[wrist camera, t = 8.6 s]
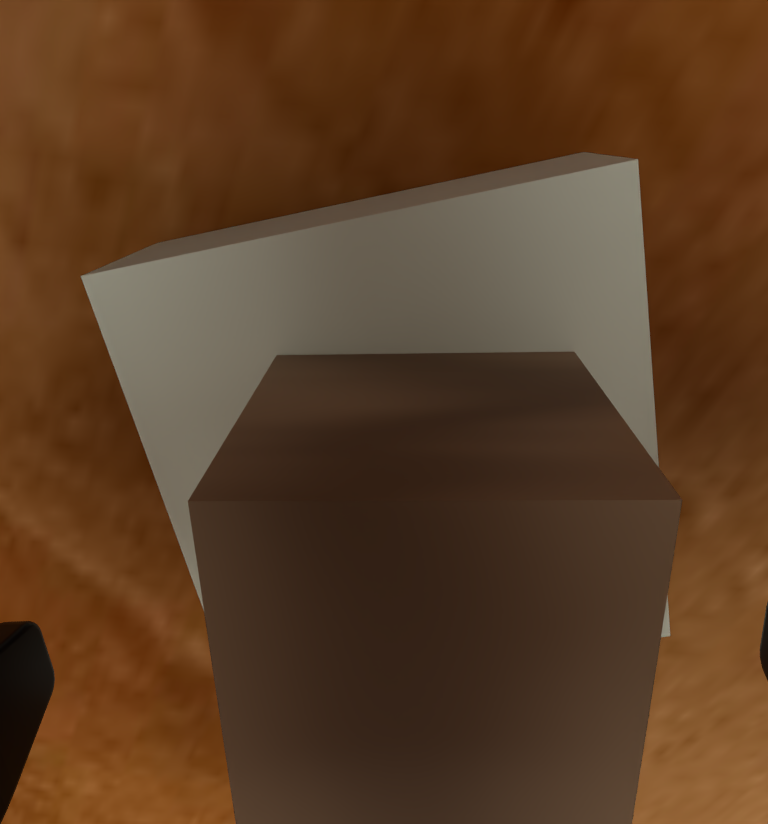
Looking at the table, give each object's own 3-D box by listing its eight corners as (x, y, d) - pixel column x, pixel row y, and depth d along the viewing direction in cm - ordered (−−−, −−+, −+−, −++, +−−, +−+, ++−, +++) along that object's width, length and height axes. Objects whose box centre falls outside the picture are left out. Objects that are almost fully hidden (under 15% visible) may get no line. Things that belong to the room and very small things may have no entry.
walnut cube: (574, 351, 12) (681, 499, 7) (554, 598, 13) (627, 845, 9) (276, 354, 12) (187, 501, 7) (297, 597, 14) (238, 838, 9)
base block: (580, 151, 14) (638, 159, 10) (616, 527, 17) (670, 636, 14) (163, 240, 15) (80, 276, 11) (270, 579, 18) (234, 692, 15)
